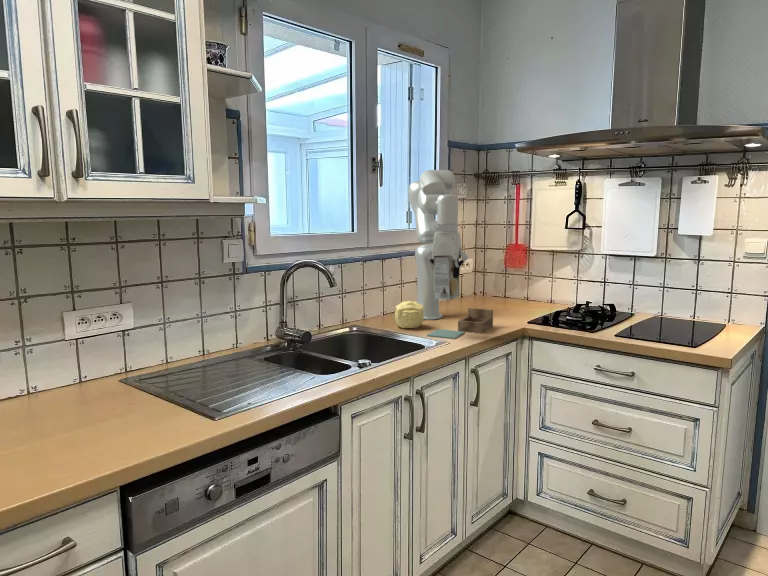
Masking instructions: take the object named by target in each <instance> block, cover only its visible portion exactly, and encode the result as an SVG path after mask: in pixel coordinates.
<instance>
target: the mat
mask: <svg viewBox="0 0 768 576" xmlns="http://www.w3.org/2000/svg"><path fill="white" fill-rule="evenodd" d="M464 334H466V332H462V331H458V330H453V329H449V330H448V329H441V328H439V329H435V330H433V331H432V332H430V333H427V334H426V337H432V338H440V339H442V338H443V339H450V340H451V339H452V340H456V339H458V338H459V337H461V336H463V335H464Z"/></svg>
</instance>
